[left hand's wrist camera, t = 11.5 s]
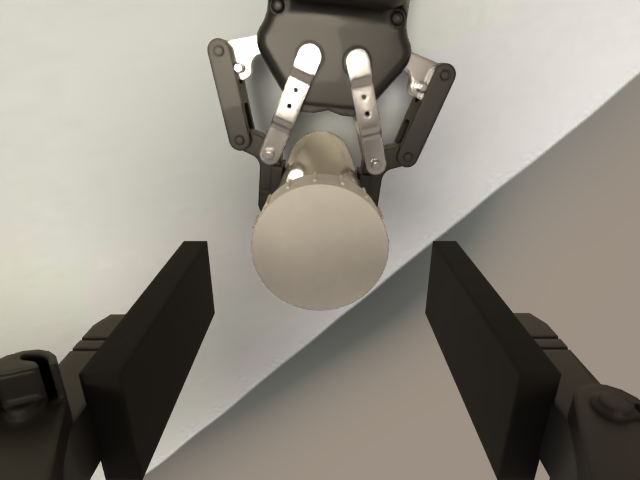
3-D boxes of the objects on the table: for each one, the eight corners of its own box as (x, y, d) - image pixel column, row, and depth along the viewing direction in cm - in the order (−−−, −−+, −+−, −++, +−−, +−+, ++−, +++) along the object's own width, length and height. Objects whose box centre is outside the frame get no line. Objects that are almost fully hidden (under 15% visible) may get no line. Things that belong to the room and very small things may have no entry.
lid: (294, 147, 17) (291, 156, 15) (407, 211, 18) (416, 226, 16) (235, 256, 18) (227, 274, 17) (342, 309, 19) (344, 331, 18)
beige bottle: (308, 119, 31) (296, 168, 16) (362, 151, 32) (401, 226, 17) (278, 173, 32) (241, 266, 17) (331, 202, 33) (340, 315, 18)
